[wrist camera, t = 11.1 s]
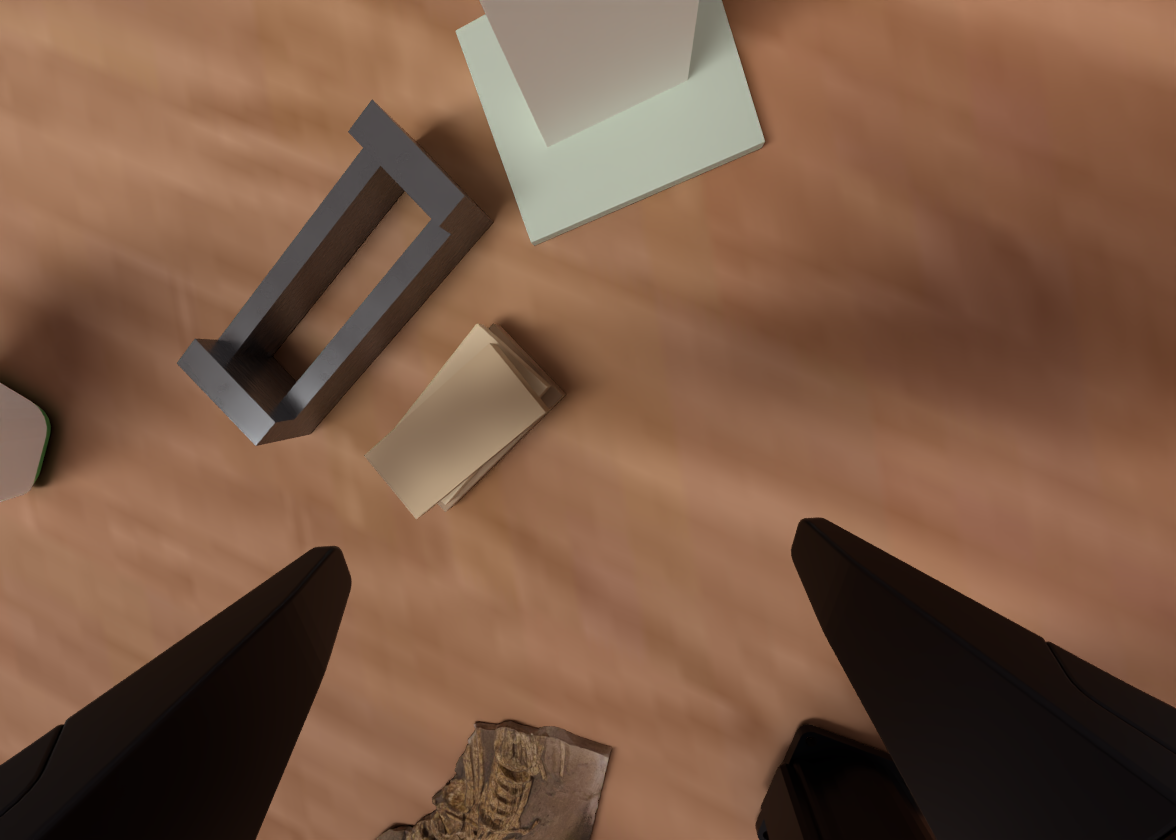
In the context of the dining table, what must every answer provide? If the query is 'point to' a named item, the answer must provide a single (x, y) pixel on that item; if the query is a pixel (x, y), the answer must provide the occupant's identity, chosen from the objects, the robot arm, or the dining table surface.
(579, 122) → the tall block
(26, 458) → the cup
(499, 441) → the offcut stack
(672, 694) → the dining table surface
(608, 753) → the carved relief fragment
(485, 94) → the sage mat
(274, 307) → the slot rack
